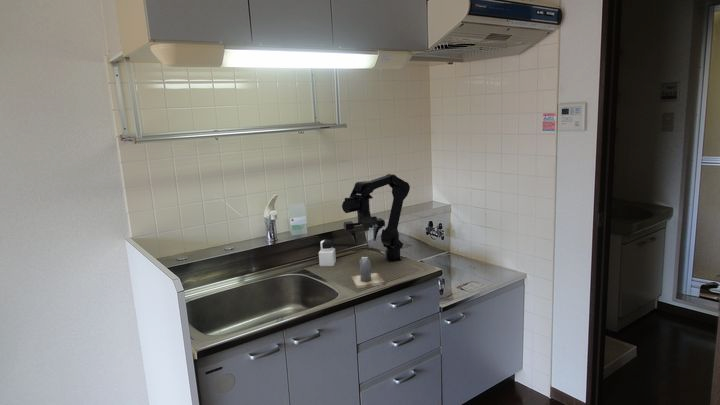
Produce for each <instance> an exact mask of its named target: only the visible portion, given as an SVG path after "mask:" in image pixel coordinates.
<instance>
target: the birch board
mask: <svg viewBox="0 0 720 405" xmlns="http://www.w3.org/2000/svg"><path fill="white" fill-rule="evenodd" d="M350 279H351V281H352V283H353V284H354V285H355V287H356V288H357V289H364V288H369V287H371V288H372V287H377V285H378V286H383V285H382V284H386V282H385V280H384V279H383V278H382V277H381V275H380V274H378V273H377V272H375V273H371V281H369V282H362V281H361V279H360V275H359V274H358V275H351V276H350Z"/></svg>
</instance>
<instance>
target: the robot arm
mask: <svg viewBox="0 0 720 405" xmlns="http://www.w3.org/2000/svg"><path fill="white" fill-rule="evenodd" d="M385 186H389V187H390V188H391V194H392V199H393V200H392V204H391V208H390V213H389V218H388V222H387V226H386V222H385V220H384V219H383V218H381V217H380V218H379V217H377V215H374V216H371V215H372V214H371V211H370V200H372V199H374V198H373V196H372V195H371V194H372V193H373V192H374V191H375V190H377V189H379V188H382V187H385ZM410 188H411V186H410V184H409V182H407V181H405V180H403V179H401V178H400V177H398V176H397V175H396V174H390V173H388V174H386V175H382V176H381V177H378V178H375V179H371V180H367V181H366V180H365V181H364V180H363V181H357V182H355V183H354V187H353V188H352V191H351V192H350V195H349V197H344V201H343V202H342V204H341V208H342V210H343V212H344V213H345V214H349V213H354V212H356V213H357V222H353V221H351V220H350V221H349V220H348V221H344V222H343V225H342V226H343V227H342V228H343V229H344V230H345V231H347V232H349V233H350V235H351V237H352V240H353V242H354V244H357V238H356V229H355V228H358V227H362V229H365V230H366V229H373V232H372V233H373V241H374V242H376V240H377V237H378V233H379V231H380V229H382V230H381V235H380V241H381V243H382V245H383V248H385V251H384V252H385V253H384V254H385V260H387V261H388V262H390V263H391V262H397V261H402V260H403V259H402V258H401V249H403V246H404V243H403V242H401V240H399V239H400V233H399V231H398V227H399V224H400V217H401V213H402V208H403V204H404V200H405V199H406V198H407V197H408V195H409V193H410ZM383 227H386V228H385V229H383Z"/></svg>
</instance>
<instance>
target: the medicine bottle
mask: <svg viewBox="0 0 720 405" xmlns="http://www.w3.org/2000/svg"><path fill="white" fill-rule="evenodd" d="M333 243H334V242H333V240H331V239H323V240H321V241H320V243H319V244H320V250H319V251H318V264H319V267H334V266H335V264H336V262H337V259H336V258H337V256H336V255H337V254H336V247H335V248H334V244H333Z"/></svg>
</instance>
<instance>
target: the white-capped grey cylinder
mask: <svg viewBox="0 0 720 405" xmlns="http://www.w3.org/2000/svg"><path fill="white" fill-rule="evenodd" d="M358 263H359V273H360V279H361V281H362V282H369V281H371V274H372V272H371V268H372V267H371V259H370V258H369V257H368V256H362V257H361V259H359V262H358Z"/></svg>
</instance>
